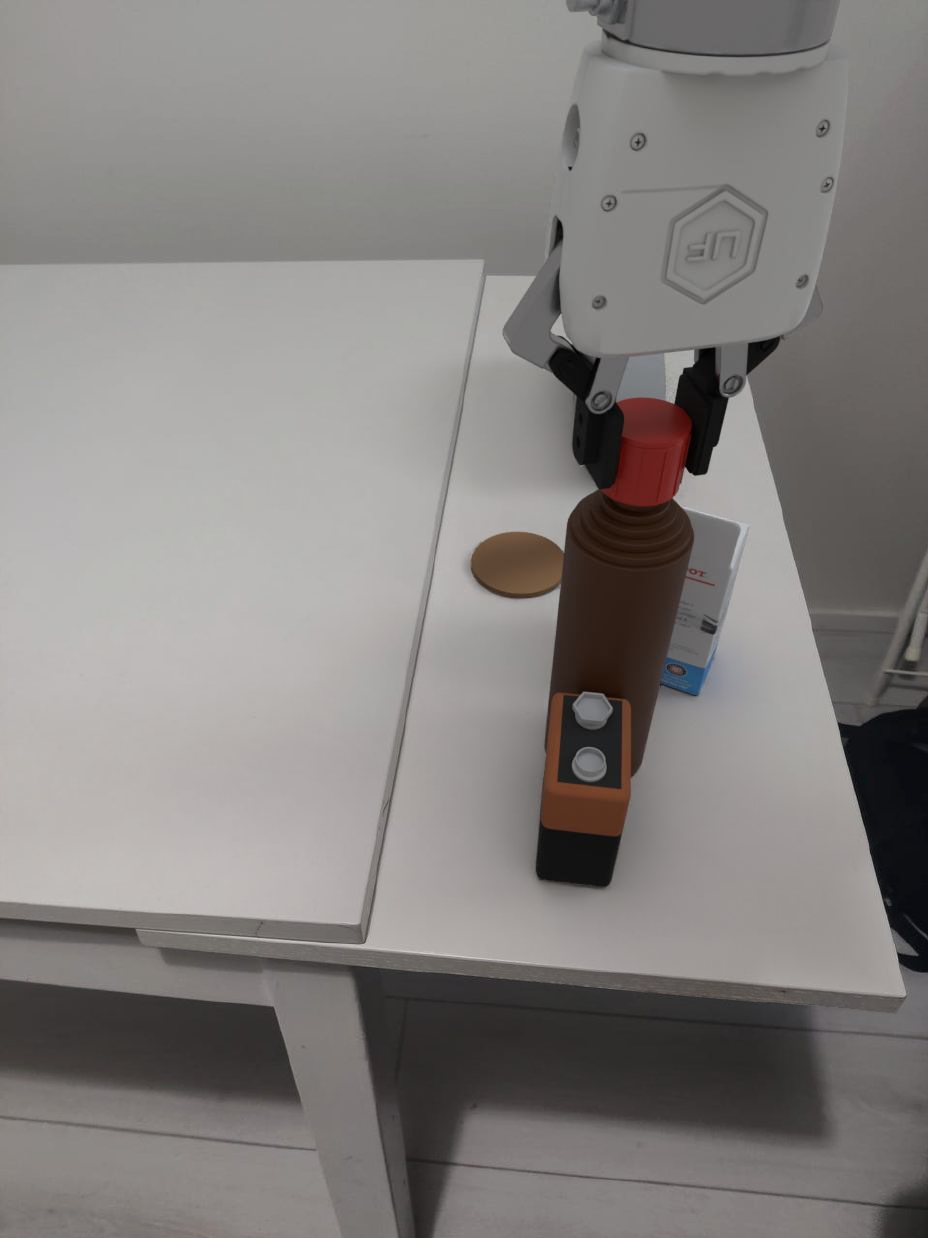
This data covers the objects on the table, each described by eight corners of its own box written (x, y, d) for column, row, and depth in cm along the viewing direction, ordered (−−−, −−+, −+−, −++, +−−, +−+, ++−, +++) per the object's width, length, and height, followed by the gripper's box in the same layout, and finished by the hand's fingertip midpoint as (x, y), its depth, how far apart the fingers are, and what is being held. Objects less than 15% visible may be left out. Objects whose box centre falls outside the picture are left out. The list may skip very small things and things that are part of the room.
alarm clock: (567, 364, 93) (578, 242, 85) (625, 365, 93) (642, 243, 84) (581, 492, 77) (596, 358, 68) (651, 494, 77) (675, 359, 68)
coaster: (586, 567, 70) (586, 562, 69) (519, 612, 66) (520, 607, 66) (517, 524, 74) (518, 519, 73) (451, 564, 70) (451, 559, 70)
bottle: (663, 749, 57) (744, 436, 40) (599, 806, 54) (658, 493, 37) (588, 694, 60) (635, 385, 44) (523, 746, 57) (548, 433, 41)
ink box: (717, 651, 63) (766, 482, 53) (698, 698, 60) (746, 528, 50) (605, 614, 66) (631, 447, 56) (581, 658, 63) (604, 488, 52)
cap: (668, 458, 44) (680, 395, 41) (687, 505, 41) (701, 441, 39) (590, 460, 44) (597, 398, 41) (604, 508, 41) (613, 444, 38)
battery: (612, 792, 54) (634, 685, 47) (610, 892, 49) (634, 789, 42) (542, 784, 55) (553, 677, 48) (533, 882, 50) (544, 779, 43)
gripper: (504, 35, 25) (490, 539, 38) (1016, 8, 28) (841, 487, 40) (447, -11, 30) (452, 445, 43) (882, -30, 33) (765, 405, 46)
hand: (641, 462), depth 41 cm, fingers closed on cap, 3 cm apart
